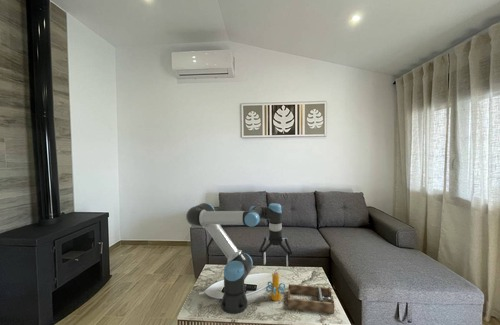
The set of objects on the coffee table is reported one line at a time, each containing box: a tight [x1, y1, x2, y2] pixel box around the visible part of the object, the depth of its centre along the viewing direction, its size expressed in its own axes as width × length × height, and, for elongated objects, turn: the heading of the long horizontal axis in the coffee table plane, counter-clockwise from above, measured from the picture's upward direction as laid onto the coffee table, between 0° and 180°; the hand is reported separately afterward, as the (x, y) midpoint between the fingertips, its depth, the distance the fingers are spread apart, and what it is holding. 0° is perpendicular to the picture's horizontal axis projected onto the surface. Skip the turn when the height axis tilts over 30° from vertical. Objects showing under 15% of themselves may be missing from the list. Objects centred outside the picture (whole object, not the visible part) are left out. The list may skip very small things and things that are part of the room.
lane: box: [287, 283, 335, 314], centre depth 136 cm, size 25×16×6 cm, turn 79°
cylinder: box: [265, 271, 286, 302], centre depth 139 cm, size 12×10×15 cm
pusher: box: [317, 286, 331, 302], centre depth 134 cm, size 8×13×6 cm, turn 169°
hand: (275, 264), depth 139 cm, fingers open, 13 cm apart
